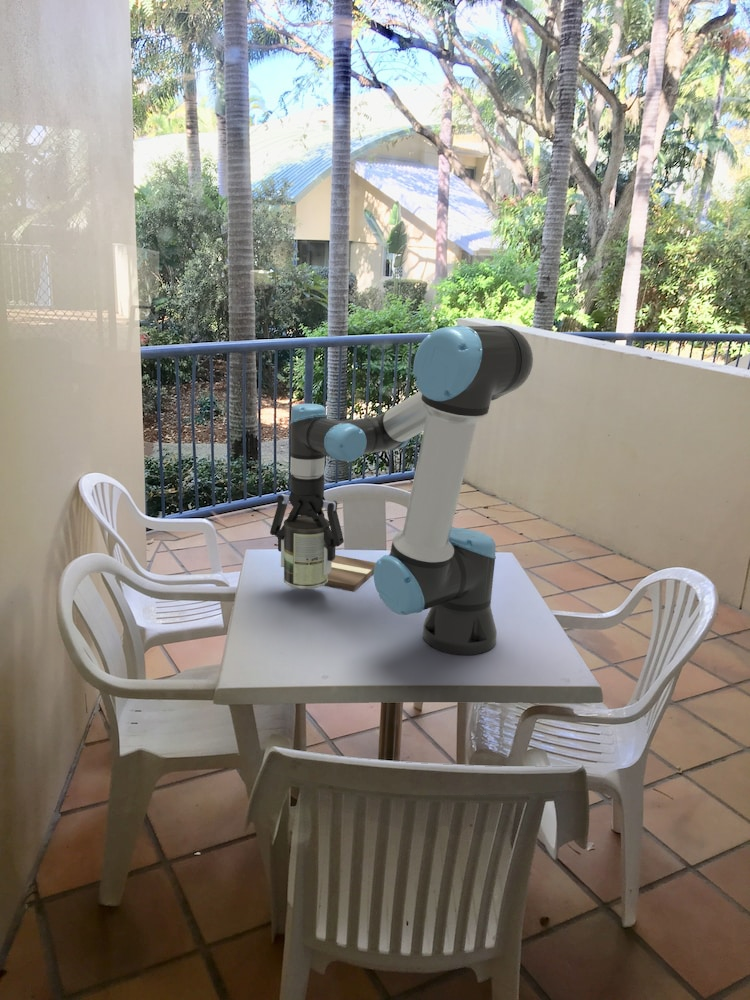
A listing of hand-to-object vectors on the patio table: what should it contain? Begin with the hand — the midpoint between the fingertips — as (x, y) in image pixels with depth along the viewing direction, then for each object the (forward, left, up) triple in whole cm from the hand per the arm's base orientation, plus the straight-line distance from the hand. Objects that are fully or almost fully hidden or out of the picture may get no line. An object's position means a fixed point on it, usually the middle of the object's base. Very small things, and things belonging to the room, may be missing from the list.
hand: (306, 569), depth 170 cm
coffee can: (0, 0, -3) cm, 3 cm away
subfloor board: (+16, 0, -7) cm, 17 cm away
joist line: (+17, 0, -5) cm, 17 cm away
